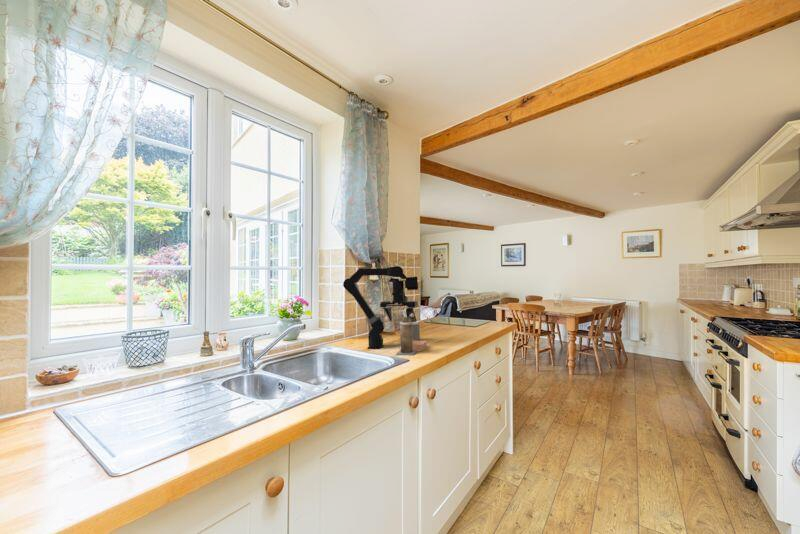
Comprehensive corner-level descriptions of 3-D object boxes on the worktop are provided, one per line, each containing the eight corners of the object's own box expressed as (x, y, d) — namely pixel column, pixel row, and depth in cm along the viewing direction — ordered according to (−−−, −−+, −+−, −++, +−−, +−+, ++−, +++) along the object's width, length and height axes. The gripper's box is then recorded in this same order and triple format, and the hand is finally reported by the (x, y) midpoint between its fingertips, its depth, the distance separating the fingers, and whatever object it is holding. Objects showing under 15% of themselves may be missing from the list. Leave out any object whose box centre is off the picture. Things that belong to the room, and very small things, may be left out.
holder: (404, 350, 163) (404, 344, 163) (410, 346, 171) (409, 340, 171) (422, 350, 160) (421, 344, 160) (426, 346, 168) (426, 340, 168)
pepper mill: (398, 351, 157) (396, 317, 158) (406, 349, 161) (405, 316, 162) (406, 353, 153) (405, 318, 154) (415, 351, 157) (413, 317, 158)
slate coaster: (396, 354, 154) (396, 353, 154) (400, 350, 162) (400, 349, 162) (413, 355, 152) (413, 353, 152) (417, 351, 160) (416, 349, 160)
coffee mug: (414, 344, 175) (413, 325, 176) (398, 343, 181) (397, 324, 181) (426, 339, 187) (425, 321, 187) (410, 338, 192) (410, 320, 192)
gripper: (420, 289, 176) (421, 319, 176) (387, 290, 182) (388, 318, 182) (413, 290, 166) (415, 322, 165) (379, 291, 172) (380, 321, 172)
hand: (399, 321), depth 171 cm, fingers open, 9 cm apart
